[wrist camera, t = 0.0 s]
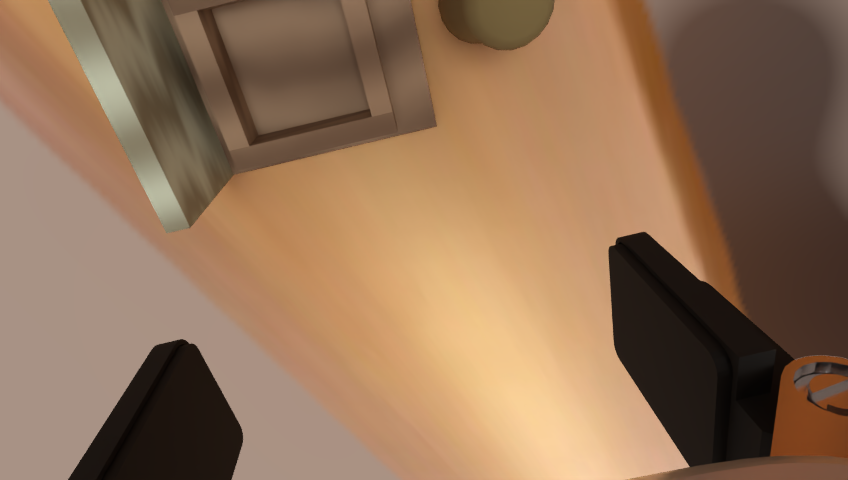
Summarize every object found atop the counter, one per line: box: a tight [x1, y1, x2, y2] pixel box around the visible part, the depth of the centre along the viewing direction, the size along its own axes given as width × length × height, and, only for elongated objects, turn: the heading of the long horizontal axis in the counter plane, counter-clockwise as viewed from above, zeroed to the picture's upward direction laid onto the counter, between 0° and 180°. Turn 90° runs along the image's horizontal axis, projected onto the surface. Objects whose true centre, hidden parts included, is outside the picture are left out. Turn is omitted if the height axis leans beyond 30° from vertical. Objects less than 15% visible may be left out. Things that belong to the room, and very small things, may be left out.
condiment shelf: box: [48, 0, 437, 233], centre depth 32 cm, size 14×18×12 cm
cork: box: [438, 0, 554, 50], centre depth 32 cm, size 6×6×11 cm
